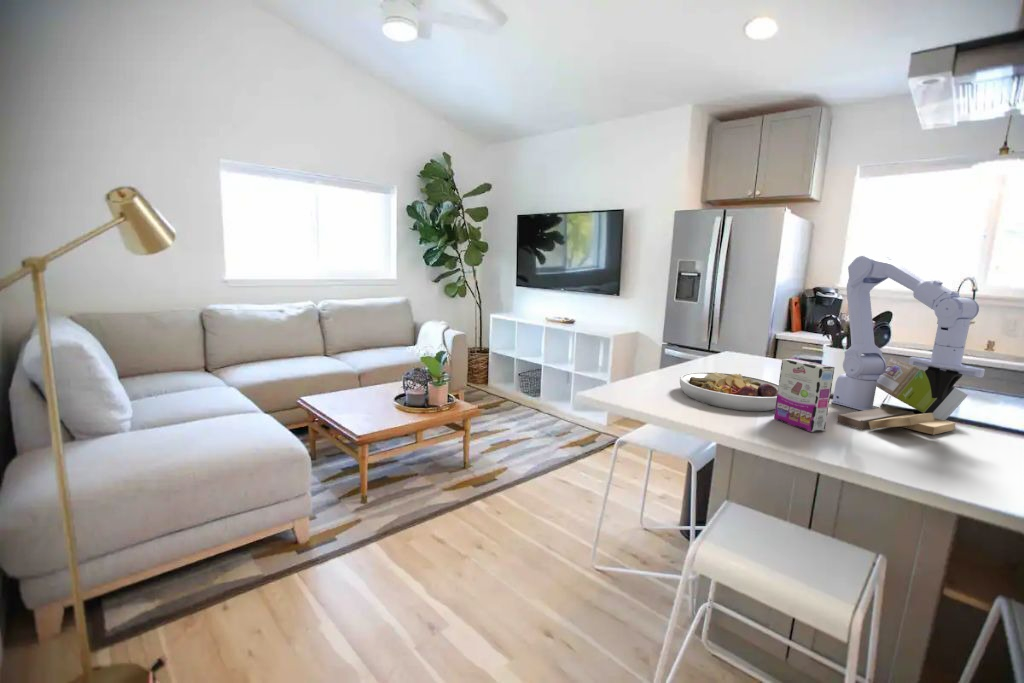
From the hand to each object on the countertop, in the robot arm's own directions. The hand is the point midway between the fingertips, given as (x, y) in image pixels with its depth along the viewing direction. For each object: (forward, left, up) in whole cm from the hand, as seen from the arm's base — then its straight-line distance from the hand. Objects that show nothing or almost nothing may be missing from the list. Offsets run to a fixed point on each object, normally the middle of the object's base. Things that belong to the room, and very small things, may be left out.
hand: (938, 398), depth 122 cm
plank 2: (-2, 0, -8) cm, 9 cm away
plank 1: (-2, -11, -6) cm, 13 cm away
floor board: (-10, -6, -9) cm, 15 cm away
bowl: (-39, -27, -9) cm, 48 cm away
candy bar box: (-15, -31, -9) cm, 35 cm away
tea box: (-6, +18, -5) cm, 19 cm away
